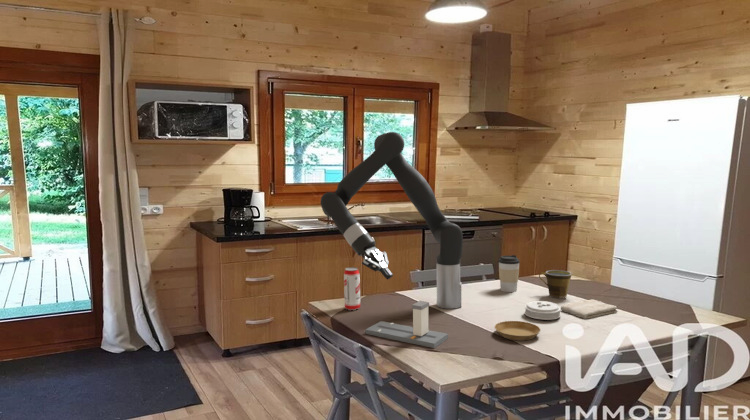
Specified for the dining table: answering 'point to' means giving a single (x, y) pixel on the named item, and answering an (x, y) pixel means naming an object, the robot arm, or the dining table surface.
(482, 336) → the dining table surface
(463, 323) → the dining table surface
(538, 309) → the lid
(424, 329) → the fader tab
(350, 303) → the beer can
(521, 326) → the plant saucer
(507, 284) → the coffee cup
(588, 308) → the washcloth
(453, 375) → the dining table surface
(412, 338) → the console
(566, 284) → the ceramic cup
